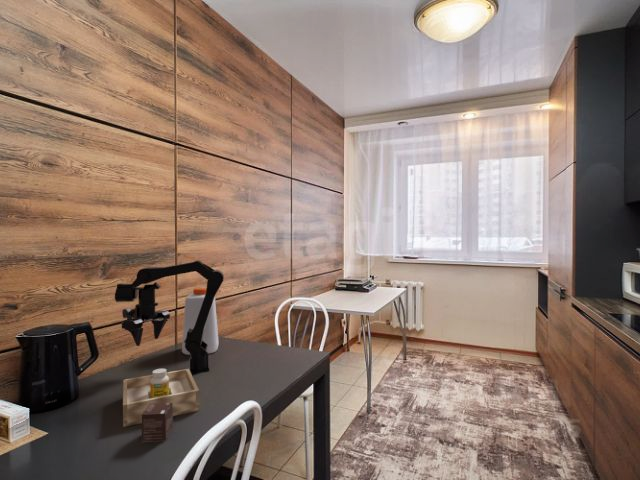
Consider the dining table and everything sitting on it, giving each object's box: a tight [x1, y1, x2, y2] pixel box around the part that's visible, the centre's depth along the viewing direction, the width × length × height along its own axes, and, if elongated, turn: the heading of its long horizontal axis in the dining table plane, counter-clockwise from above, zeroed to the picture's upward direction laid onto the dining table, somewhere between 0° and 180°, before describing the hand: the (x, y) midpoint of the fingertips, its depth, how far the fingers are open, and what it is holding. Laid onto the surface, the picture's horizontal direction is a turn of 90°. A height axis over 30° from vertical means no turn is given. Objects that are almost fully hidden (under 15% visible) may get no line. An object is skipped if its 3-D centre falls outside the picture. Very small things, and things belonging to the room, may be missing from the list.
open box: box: [122, 368, 200, 428], centre depth 113 cm, size 20×20×6 cm
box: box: [141, 403, 174, 443], centre depth 95 cm, size 6×6×7 cm
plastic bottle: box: [181, 287, 220, 356], centre depth 166 cm, size 15×15×28 cm
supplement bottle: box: [150, 368, 169, 398], centre depth 113 cm, size 5×5×10 cm
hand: (147, 342), depth 138 cm, fingers open, 9 cm apart
